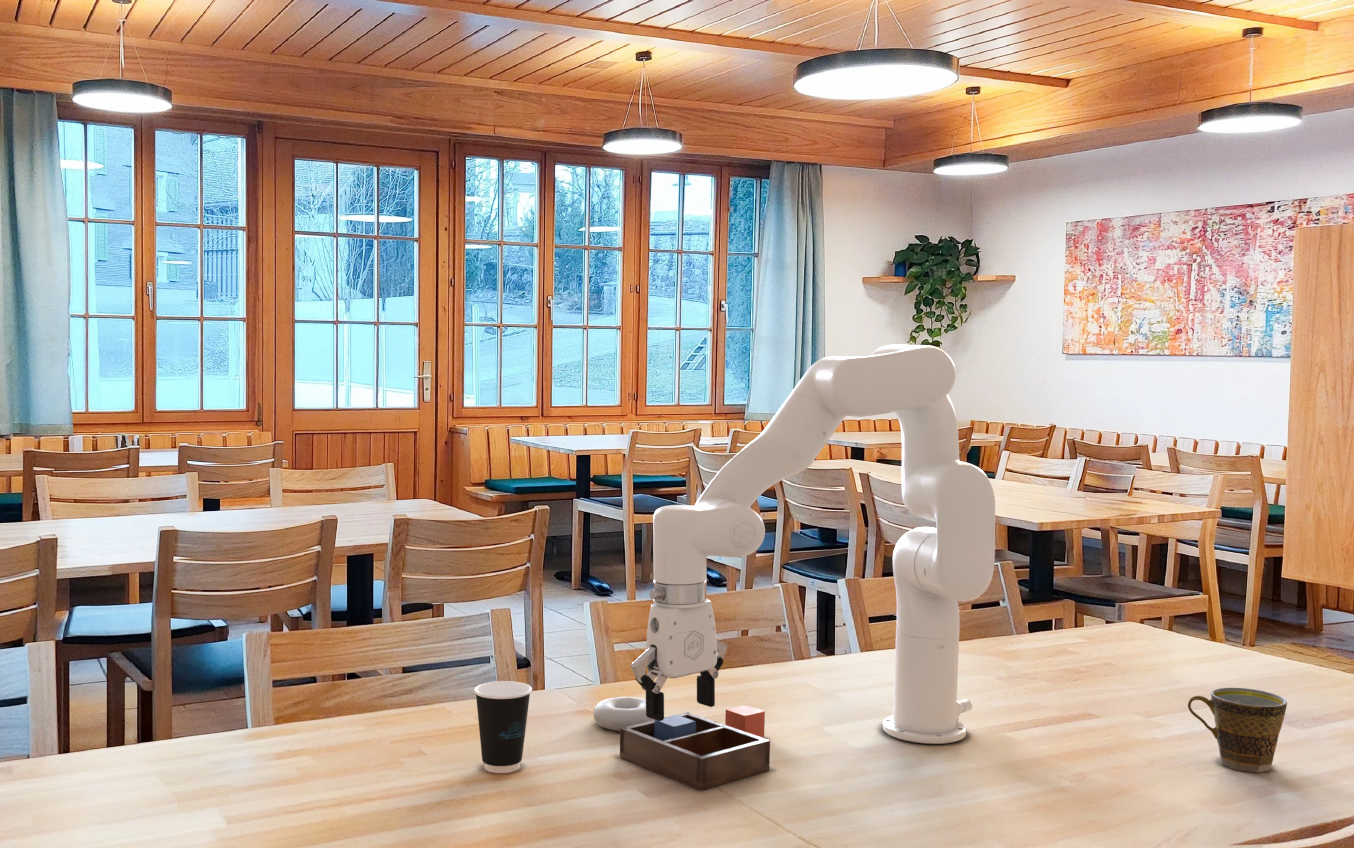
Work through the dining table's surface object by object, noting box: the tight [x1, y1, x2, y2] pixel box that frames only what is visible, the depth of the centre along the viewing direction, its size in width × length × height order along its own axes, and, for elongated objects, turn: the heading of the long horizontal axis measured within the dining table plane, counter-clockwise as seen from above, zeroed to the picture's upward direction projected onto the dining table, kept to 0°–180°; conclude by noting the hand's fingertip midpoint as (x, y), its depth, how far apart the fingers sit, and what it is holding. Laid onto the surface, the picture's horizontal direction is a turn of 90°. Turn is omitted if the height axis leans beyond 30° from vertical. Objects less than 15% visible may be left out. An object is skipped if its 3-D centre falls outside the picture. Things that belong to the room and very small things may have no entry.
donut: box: [592, 696, 654, 732], centre depth 192 cm, size 10×4×10 cm
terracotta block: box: [724, 704, 766, 739], centre depth 187 cm, size 4×4×4 cm
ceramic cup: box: [1187, 687, 1288, 773], centre depth 180 cm, size 13×10×10 cm
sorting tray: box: [619, 711, 771, 791], centre depth 174 cm, size 13×17×4 cm
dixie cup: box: [473, 680, 533, 774], centre depth 171 cm, size 8×8×11 cm
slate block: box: [654, 714, 696, 741], centre depth 177 cm, size 4×4×4 cm
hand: (680, 711), depth 177 cm, fingers open, 9 cm apart
